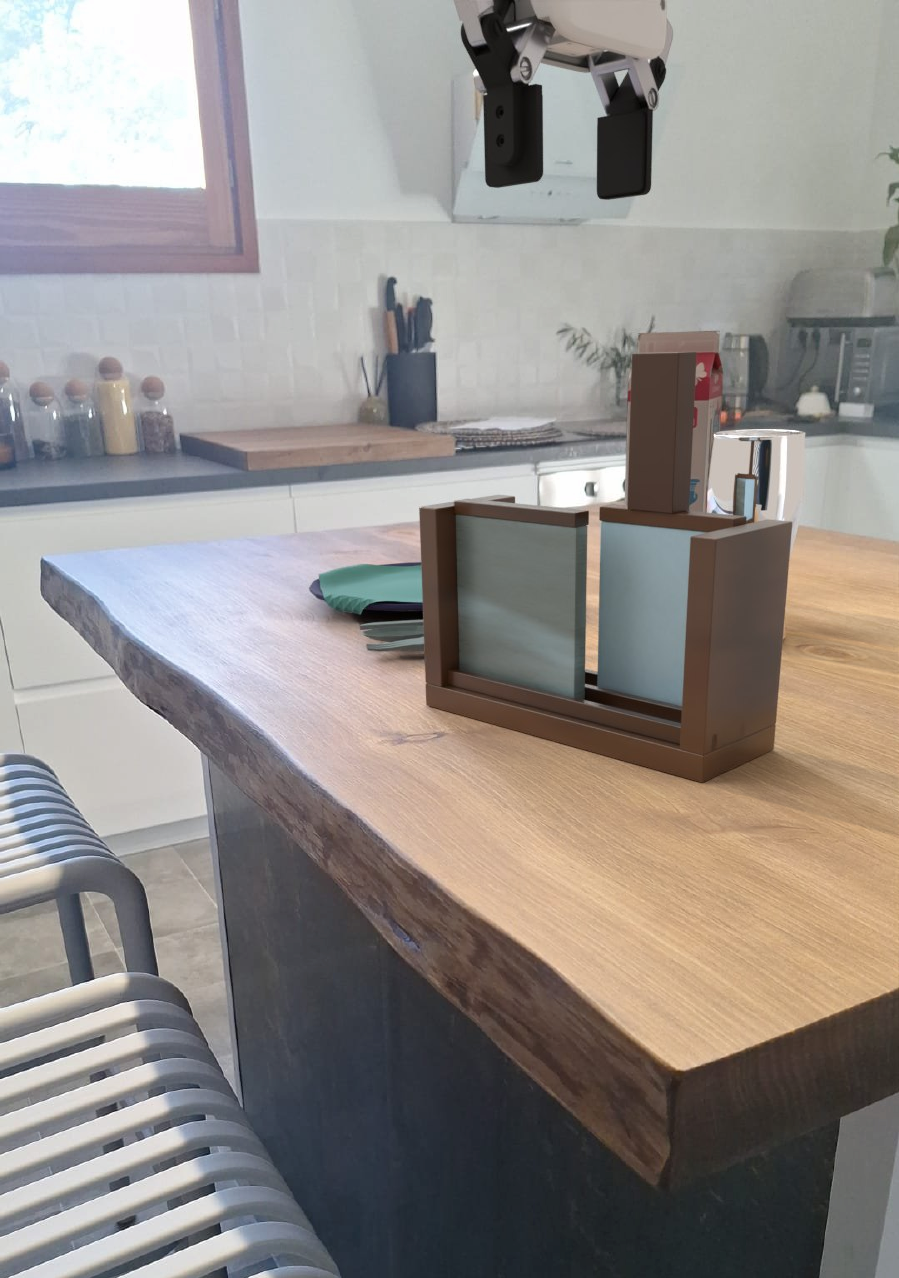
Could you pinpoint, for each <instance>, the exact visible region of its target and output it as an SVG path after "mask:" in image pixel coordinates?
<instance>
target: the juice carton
mask: <svg viewBox="0 0 899 1278" xmlns="http://www.w3.org/2000/svg"><path fill="white" fill-rule="evenodd" d="M718 332H719V333H718ZM720 332H721V331H720V330H699V331H697V330H695V331H670V332H669V331H668V332H667V331H666V332H638V334H637V350H636V353H662V352H697V359H696V379H695V400H694V420H693V441H692V461H691V482H690V502H689V510H687V511H694V512H705V513H706V486H707V474H708V466H709V458H710V451H711V444H712V434H713V433H715V432H720V431H721V423H722V422H721V421H722V406H723V386H724V369H723V365H722V364H723V363H722V361H721V356H720V353H719V351H720V335H721V333H720ZM630 400H631V371H630V372H629V376H628V379H627V400H626V401H627V402H626V434H625V435H626V439H625V441H626V442H625V475H624V477H625V478H624V505H627V503H628V469H629V434H630Z"/></svg>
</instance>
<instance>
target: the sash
mask: <svg viewBox="0 0 899 1278" xmlns="http://www.w3.org/2000/svg"><path fill="white" fill-rule="evenodd" d="M696 359H697V352H662V353H637V352H635V353H631V369H630V372H631V400H630V434H629V469H628V503H627V505H625V504H618V503H617V504H616V503H610V504H606V505H605V504H604V505H601V506H599V514H598V515H599V517H598V518H599V522H600V536H599V538H600V539H599V541H600V543H599V582H598V583H599V585H598V586H599V587H598V633H597V634H598V635H597V640H598V641H597V671H598V677H597V687H601V688H606V689H610V690H614V691H619V692H623V693H627V694H632V695H636V696H640V697H645V698H649V699H654V700H658V701H662V702H667V703H671V704H675V705H680V706H682V697H683V677H684V657H685V637H686V617H687V597H688V577H689V557H690V537H691V536H694V535H699V534H704V533H708V532H713V531H717V530H722V529H726V528H731V527H735V526H740V525H744V524H746V519H747V517H746V516H738V515H727V514H716V513H705V512H694V511H687V510H689V502H690V482H691V461H692V441H693V420H694V400H695V379H696Z"/></svg>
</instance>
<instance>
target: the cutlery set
mask: <svg viewBox="0 0 899 1278" xmlns="http://www.w3.org/2000/svg"><path fill="white" fill-rule="evenodd" d="M308 589H309V593H311V594H312V595H313V596H314V597H315V598H316V599H318V600H321V601H323V602H325V603H326V604H327V606H329V607H330V609H332V610H333V611H337V612H341V613H350V614H355V615H356V614H357V615H362V613H363V610H366V611H382V612H383V611H385V612H423V599H422V572H421V561H418V562H417V561H415V562H414V561H413V562H411V561H410V562H398V563H385V564H384V563H383V564H371V563H359V564H354V565H347V566H342V567H338V568H334V569H331V570H328V571H324V572H321V573H318V578H317V579H315V580H313V581H312V582H311V584H310V585H309V587H308ZM359 630H360V631H361V635H362V636H364V637H366V638H368V639H370V640H375V641H378V642H381V643H366V644H365V647H366V649H367V651H369V652H370V651H371V652H389V651H390V652H391V651H424V626H423V619H409V620H392V621H390V620H389V621H378V622H376V621H375V622H368V623H362V624H359Z"/></svg>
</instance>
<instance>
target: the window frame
mask: <svg viewBox="0 0 899 1278" xmlns="http://www.w3.org/2000/svg"><path fill="white" fill-rule="evenodd" d="M418 508H419V509H418V512H419V514H418V516H419V541H420V543H419V544H420V562H421V572H422V599H423V611H422V620H423V626H424V650H423V651H424V677H425V678H424V679H425V705H426V706H428V707H431V708H435V709H438V710H442V711H446V712H448V713H453V714H456V715H460V716H463V717H467V718H470V719H472V720H473V719H474V720H478V721H481V722H484V723H488V724H491V725H496V726H499V727H502V728H507V729H510V730H514V731H516V732H520V733H523V734H527V735H531V736H534V737H537V738H541V739H544V740H549V741H553V742H556V743H559V744H563V745H567V746H570V747H573V748H577V749H581V750H584V751H587V752H592V753H594V754H599V755H603V756H606V757H610V758H612V759H617V760H620V761H624V762H627V763H631V764H635V765H638V766H641V767H645V768H649V769H652V770H655V771H658V772H663V773H665V774H670V775H674V776H677V777H681V778H684V779H687V780H692V781H695V782H698V783H704V782H706V781H709V780H711V779H713V778H715V777H717V776H719V775H722V774H724V773H726V772H728V771H730V770H732V769H734V768H737V767H739V766H741V765H744V764H745V763H747V762H750V761H752V760H754V759H756V758H758V757H761V756H763V755H765V754H767V753H769V752H771V751H773V750H774V749H775V738H776V728H777V727H776V726H777V725H776V724H777V714H778V705H779V704H778V703H779V692H780V691H779V690H780V679H781V678H780V677H781V667H782V666H781V665H782V654H783V641H784V639H783V631H784V620H785V616H786V605H787V593H788V583H789V570H790V569H789V568H790V561H789V558H790V546H791V533H792V522H791V521H780V520H769V519H767V520H762V521H758V522H753V523H749V524H744V525H740V526H735V527H731V528H726V529H722V530H717V531H713V532H708V533H704V534H699V535H694V536H691V537H690V557H689V577H688V597H687V617H686V637H685V657H684V677H683V697H682V706H680V705H675V704H671V703H667V702H662V701H658V700H654V699H649V698H645V697H640V696H636V695H632V694H627V693H623V692H619V691H614V690H610V689H606V688H601V687H597V677H598V670H593V669H588V668H586V641H587V640H586V637H587V636H586V635H587V633H586V632H587V585H588V583H587V581H588V580H587V576H588V574H587V573H588V526H589V524H590V511H589V510H588V509H579V508H569V507H568V508H567V507H559V506H558V507H557V506H548V505H537V504H535V505H534V504H527V503H516V496H514V495H506V494H494V495H486V496H480V497H475V498H462V499H455V500H454V501H448V502H442V503H434V504H427V505H421V506H419V507H418ZM790 559H791V558H790Z"/></svg>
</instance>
